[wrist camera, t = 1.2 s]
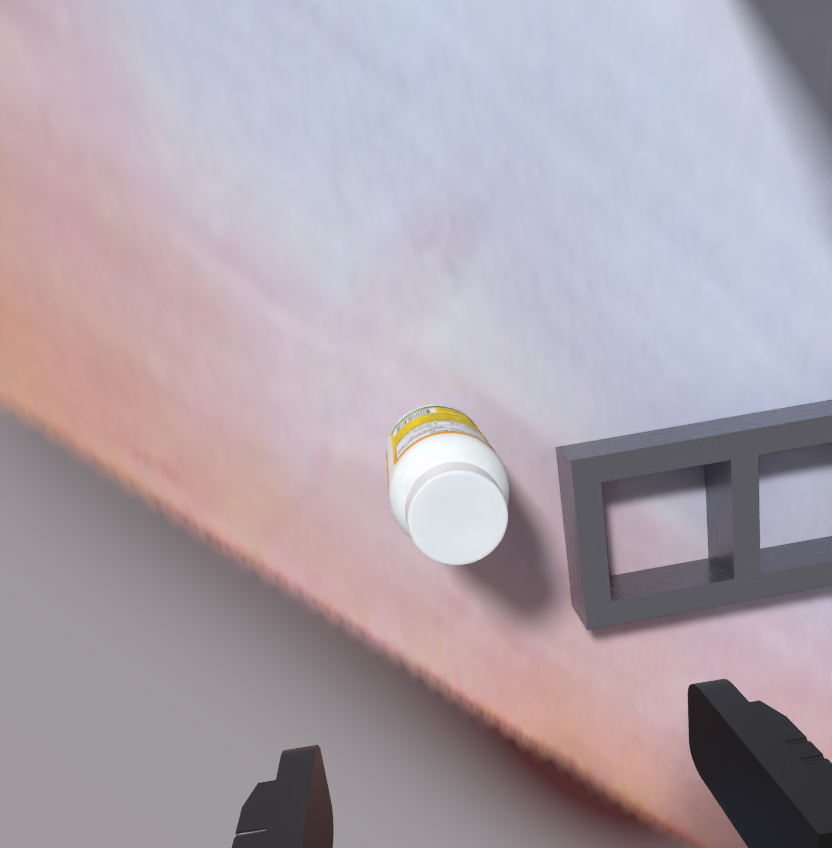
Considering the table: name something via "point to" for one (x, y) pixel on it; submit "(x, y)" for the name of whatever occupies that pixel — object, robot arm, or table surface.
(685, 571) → the rail
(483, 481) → the supplement bottle
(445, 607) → the table surface
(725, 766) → the robot arm
